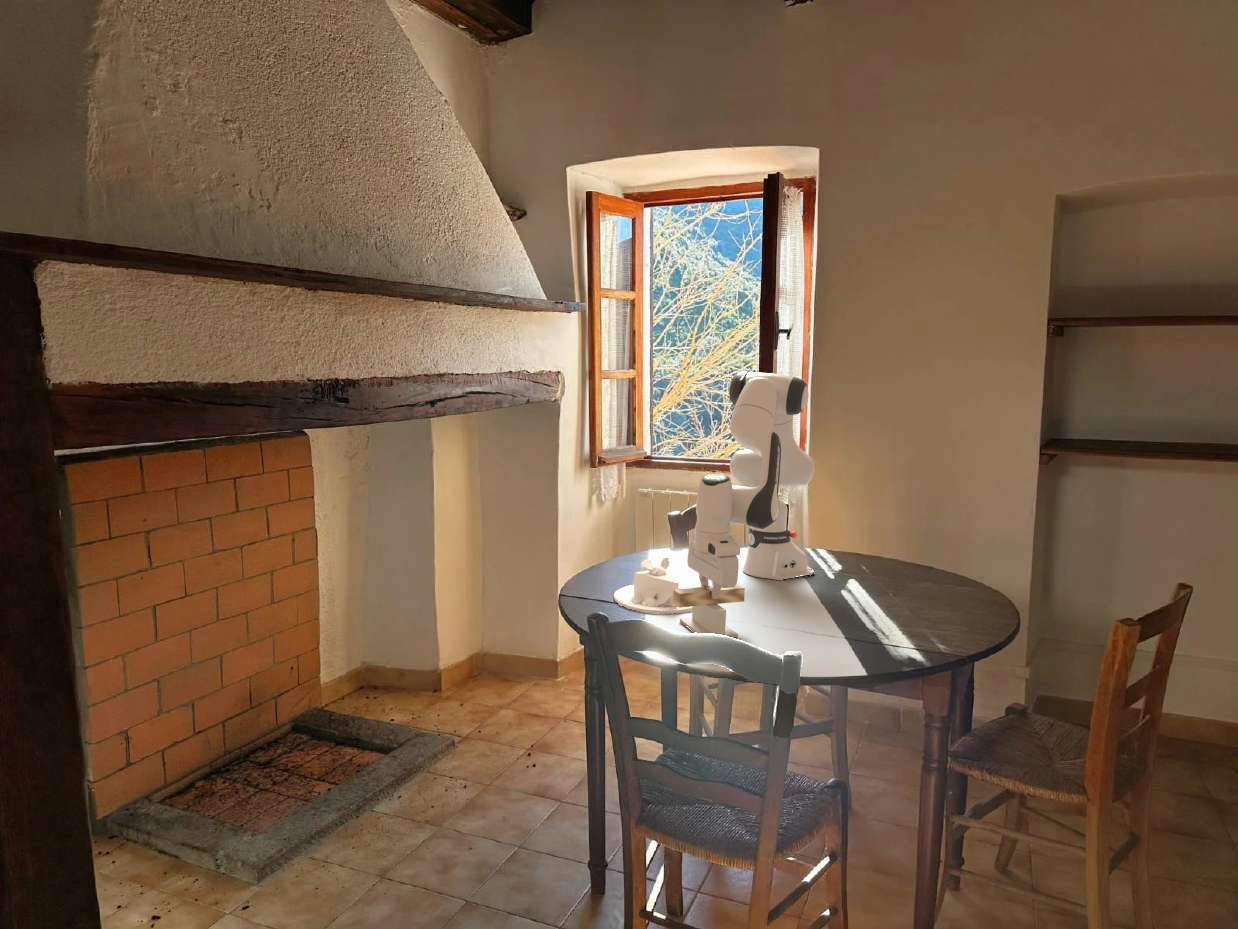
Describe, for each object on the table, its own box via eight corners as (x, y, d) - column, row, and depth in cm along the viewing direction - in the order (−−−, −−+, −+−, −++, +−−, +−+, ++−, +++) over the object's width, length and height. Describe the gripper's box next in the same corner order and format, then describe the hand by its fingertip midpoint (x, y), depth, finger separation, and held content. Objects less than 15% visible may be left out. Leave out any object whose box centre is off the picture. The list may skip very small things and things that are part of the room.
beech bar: (737, 597, 210) (737, 584, 210) (744, 601, 207) (744, 587, 207) (673, 603, 204) (673, 589, 203) (679, 607, 200) (679, 593, 200)
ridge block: (711, 619, 214) (712, 593, 213) (737, 637, 202) (739, 610, 201) (679, 622, 211) (680, 596, 210) (704, 641, 198) (706, 613, 197)
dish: (597, 594, 234) (598, 555, 232) (671, 583, 246) (672, 546, 245) (643, 620, 213) (645, 578, 211) (721, 607, 225) (723, 567, 224)
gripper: (682, 531, 211) (680, 584, 214) (720, 551, 193) (717, 608, 195) (704, 530, 214) (702, 582, 216) (744, 550, 195) (741, 606, 197)
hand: (709, 595), depth 205 cm, fingers closed on beech bar, 3 cm apart
